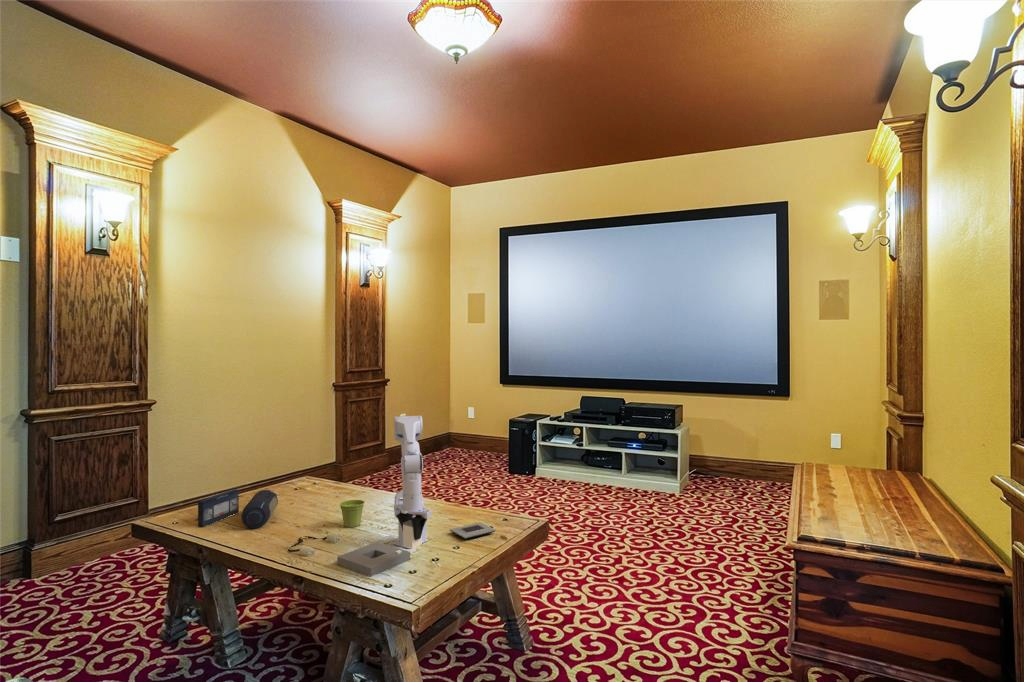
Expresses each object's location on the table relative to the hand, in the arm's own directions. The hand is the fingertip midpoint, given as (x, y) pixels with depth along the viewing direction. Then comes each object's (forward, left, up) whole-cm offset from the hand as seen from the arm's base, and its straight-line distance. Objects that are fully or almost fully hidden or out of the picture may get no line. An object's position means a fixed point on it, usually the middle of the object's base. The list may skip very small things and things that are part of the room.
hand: (412, 537), depth 176 cm
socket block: (+4, -13, -9) cm, 17 cm away
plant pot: (-15, -48, -10) cm, 52 cm away
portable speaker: (+2, -83, -10) cm, 84 cm away
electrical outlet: (-34, -4, -10) cm, 36 cm away
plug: (0, 0, -2) cm, 2 cm away
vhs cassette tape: (+11, -97, -10) cm, 98 cm away
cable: (+8, -42, -10) cm, 44 cm away
